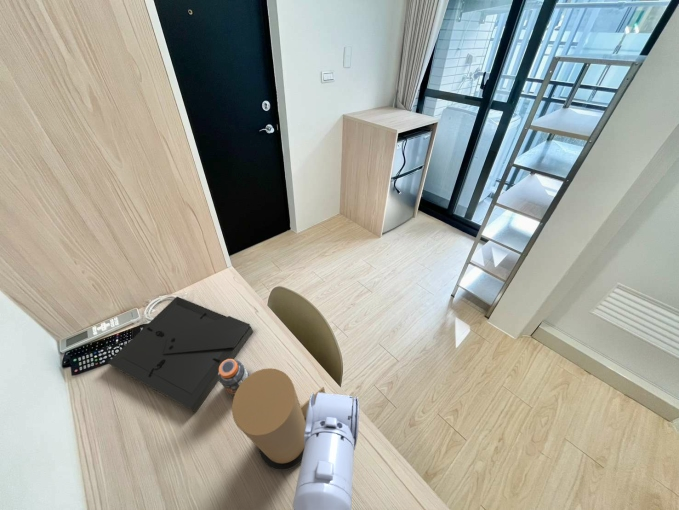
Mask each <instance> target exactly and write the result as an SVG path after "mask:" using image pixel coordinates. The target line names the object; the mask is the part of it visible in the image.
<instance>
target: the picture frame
mask: <svg viewBox="0 0 679 510" xmlns="http://www.w3.org/2000/svg"><path fill="white" fill-rule="evenodd" d="M253 333H254V330H253V328H252V326H251V324H250V323H248V322H245V321H243V320H240V319H238V318H235V317H233V316H231V315H228V316H226V315H224V314H221V313H219V312H217V311H214V310H212V309H209V308H207V307H204V306H202V305H199V304H197V303H194V302H191V301H190V300H187V299H185V298H182V297H180V296H176V297H175V298H174V299H172V300H171V301H170V302H169V303H168V304H167V305H166V306H165V307H164V308H163V309H162V310H161V311H160V312H158V313H157V315H156V316H154V318H153V319H151V320H150V321H149V322H148V323H147V324H146V325H145V326H144V327H143V328H142V329H141V330H140V331H139V332H138V333H137V334H136V335H134V337H133V338H131V339H130V340H129V341H128V343H126V344H125V345H124V346H123V347H122V348H121V349H120V350H119V351H117V353H116V354H115V355H114V356H113V357H112V358H111V359H110V360H108V361H107V364H109V365H110V366H111V367H113V368H114V369H116V370H118V371H120V372H122V373H123V374H125V375H127V376H128V377H130V378H132V379H133V380H136V381H138V382H140V383H141V384H143V385H145V386H147V387H148V388H150V389H152V390H154V391H156V392H158V393H159V394H161V395H163V396H165V397H167V398H168V399H170V400H173V401H174V402H176V403H178V404H180V405H181V406H183V407H185V408H187V409H189V410H190V411H192V412H194V413H197V411H198V410H199V409H200V407H201V406H202V405H203V403H204V402H205V401H206V399H207V398H208V397H209V395H210V393H212V390H214V388H215V386H216V385H217V384H218V382H220V381H219V379H218V373H219V366H220V364H221V363H222V362H223V361H225V360H227V359H233V360H235V359H236V357H237V356H238V354H239V353H240V351H241V350H242V349H243V347H244V346H245V344H246V343H247V342H248V340H249V339H250V337H251V336H252V335H253Z"/></svg>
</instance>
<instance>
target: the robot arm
mask: <svg viewBox="0 0 679 510" xmlns="http://www.w3.org/2000/svg"><path fill="white" fill-rule="evenodd" d="M317 392H318V391H317ZM317 392H316V393H317ZM314 395H315V393H314V392H312V393H311V395H310V397H309V399H310V400H309V399H308V400H309V404H308V408H307V414H306V421H305V434H304V452H303V457H302V462H301V463H300V467H299V472H298V477H297V482H296V487H295V491H294V496H293V500H292V501H293V502H292V508H293V510H353V509H352V508H353V507H352V505H353V482H354V461H355V460H354V459H355V450H356V446H357V442H358V439H359V425H360V402H359V397H358V396H356V397H353V395H347V394H346V395H345V394H338V393H327V392H325V393H320V392H318V393H317V396H316V401H315V405H314Z"/></svg>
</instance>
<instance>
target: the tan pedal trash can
mask: <svg viewBox="0 0 679 510" xmlns="http://www.w3.org/2000/svg"><path fill="white" fill-rule="evenodd" d="M295 388H296V387H295V385H294V383H293V380H292V379H291V377H290V376H289V375H288V374H287V373H286V372H284V371H282V370H280V369H277V368H273V367H270V368H268V367H267V368H262V369H258V370H256V371H254V372H252V373H251V374H249V376H248V377H247V378H246V379H245V380H244V381H243V382H242V383H241V384H240V386H239V387H238V389H237V391H236V393H235V395H234V397H233V399H232V405H231V415H232V419H233V422H234V424H235V425H236V426H237V428H238V429H239V430H240V431H241V432H242V433H243V434H244V435H245V436H246V437H247V438H248V439H249V440H250V441H251V442H252V443H253V444H254V445H255V446H256V447H257V448H258V450H259V449H260V450H261V451H262V452H263V453H264V454H265V455H266V456H267V457H268V458H269V459H271V460H272V461H274V462H276V463H288V462H291V461H293V460H294V459H296V458H297V457H298V456H299V455H300V454H301V452H302V451H303V449H304V434H305V419H304V418H306V414H307V408H308V404H309V400H310V398H309V399H308V400H307V401H305V402H304V404H302V405H301V404H300V401H299V397H298V394H297V391H296V389H295ZM318 392H320V393H326V391H325V387H324V386H322V387H321V388H320V389H319V390H318V391H317V392H315V393H314V405H315V401H316V396H317V393H318Z"/></svg>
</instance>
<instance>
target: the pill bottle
mask: <svg viewBox="0 0 679 510" xmlns="http://www.w3.org/2000/svg"><path fill="white" fill-rule="evenodd" d="M246 368H247V367H245V365H244V364H243V362H242V361H240V360H238V359H234V360H233V359H227V360H225V361H223V362H222V363H221V364H220V366H219V373H218V379H219V381H218V382H219V383H220V384H221V385H222V386H223V388H224V389H225V390H226V391H227V393H228V394H229V396H231V397H233V398H234V395H235V393H236V391H237V389H238V387H239V386H240V384H241V383H242V382H243V381H244V380H245V379H246V378H247V377H248V376H249V375H250V374H249V372H248V371H247V369H246Z"/></svg>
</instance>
